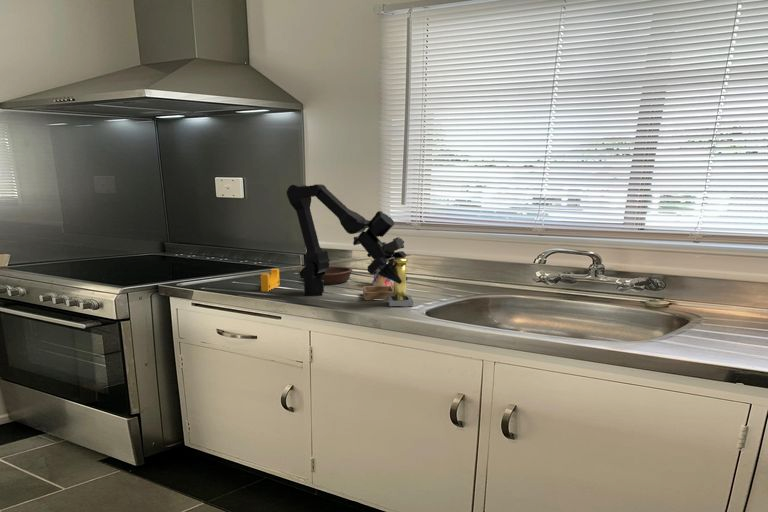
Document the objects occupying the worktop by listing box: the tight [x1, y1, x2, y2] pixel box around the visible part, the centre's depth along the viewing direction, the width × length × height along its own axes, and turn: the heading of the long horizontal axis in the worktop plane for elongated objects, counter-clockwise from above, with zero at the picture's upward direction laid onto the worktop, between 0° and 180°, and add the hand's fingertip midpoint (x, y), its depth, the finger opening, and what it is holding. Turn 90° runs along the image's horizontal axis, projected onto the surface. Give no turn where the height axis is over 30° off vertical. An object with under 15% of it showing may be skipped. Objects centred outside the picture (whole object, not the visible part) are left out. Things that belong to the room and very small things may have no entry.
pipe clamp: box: [260, 268, 280, 292], centre depth 195 cm, size 12×4×6 cm, turn 171°
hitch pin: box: [392, 257, 409, 300], centre depth 168 cm, size 5×5×15 cm
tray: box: [362, 285, 394, 301], centre depth 180 cm, size 10×10×3 cm
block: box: [386, 294, 414, 307], centre depth 169 cm, size 8×8×2 cm
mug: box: [370, 257, 394, 287], centre depth 198 cm, size 12×9×11 cm
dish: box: [322, 266, 353, 285], centre depth 207 cm, size 18×22×5 cm
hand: (403, 281), depth 168 cm, fingers closed on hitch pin, 4 cm apart
